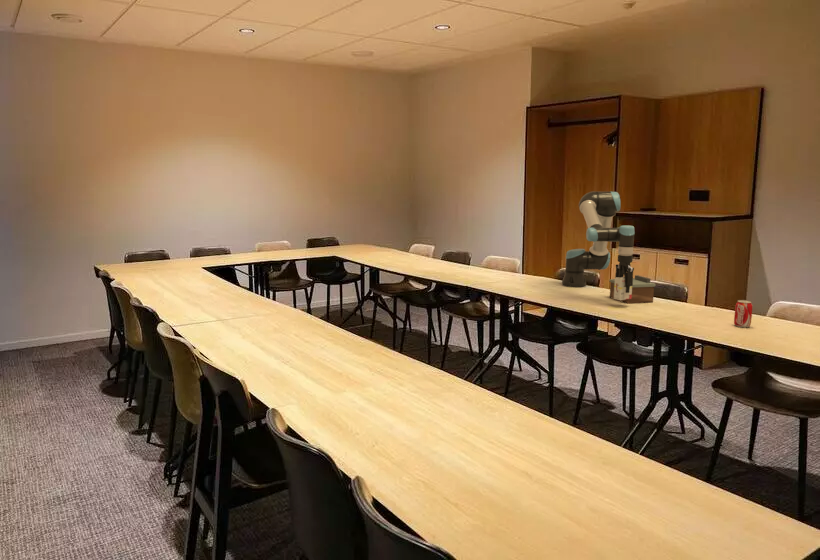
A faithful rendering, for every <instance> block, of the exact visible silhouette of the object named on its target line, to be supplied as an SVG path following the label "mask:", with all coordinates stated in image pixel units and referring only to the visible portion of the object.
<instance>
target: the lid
mask: <svg viewBox="0 0 820 560" xmlns="http://www.w3.org/2000/svg"><path fill="white" fill-rule="evenodd" d="M611 282H612V283H615V278H612V279H611V278H610V279H609V283H611ZM656 285H657V284H656V283H654V282H651V277H646V276H642V275H639V274H638V275H637V274H635V275H634V278H633V286H632V287H654V288H655V287H656Z"/></svg>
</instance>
